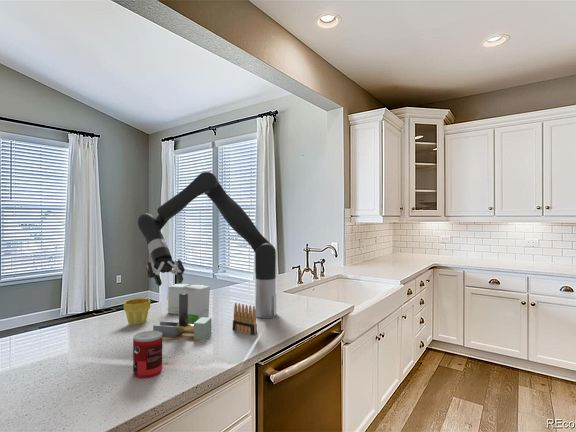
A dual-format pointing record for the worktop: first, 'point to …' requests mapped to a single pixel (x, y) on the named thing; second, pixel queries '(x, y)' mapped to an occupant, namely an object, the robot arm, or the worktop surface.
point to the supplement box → (175, 297)
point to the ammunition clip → (245, 319)
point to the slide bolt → (184, 315)
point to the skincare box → (198, 302)
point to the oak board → (183, 338)
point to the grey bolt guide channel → (167, 329)
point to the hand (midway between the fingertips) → (170, 283)
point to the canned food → (147, 354)
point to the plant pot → (137, 310)
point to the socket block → (202, 328)
